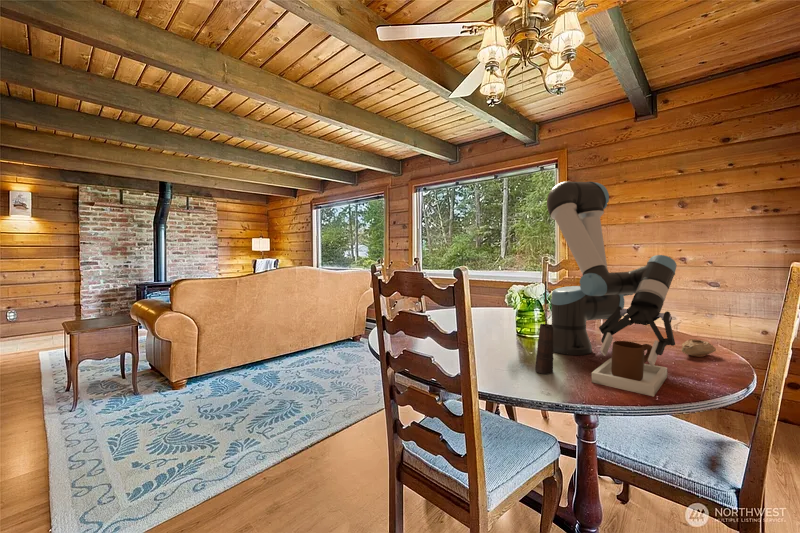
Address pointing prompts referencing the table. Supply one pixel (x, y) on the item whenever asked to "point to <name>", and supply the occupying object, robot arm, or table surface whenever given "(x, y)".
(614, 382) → the tray
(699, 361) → the table surface
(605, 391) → the table surface
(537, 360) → the butter churn
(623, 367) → the mug
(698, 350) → the pottery oil lamp
